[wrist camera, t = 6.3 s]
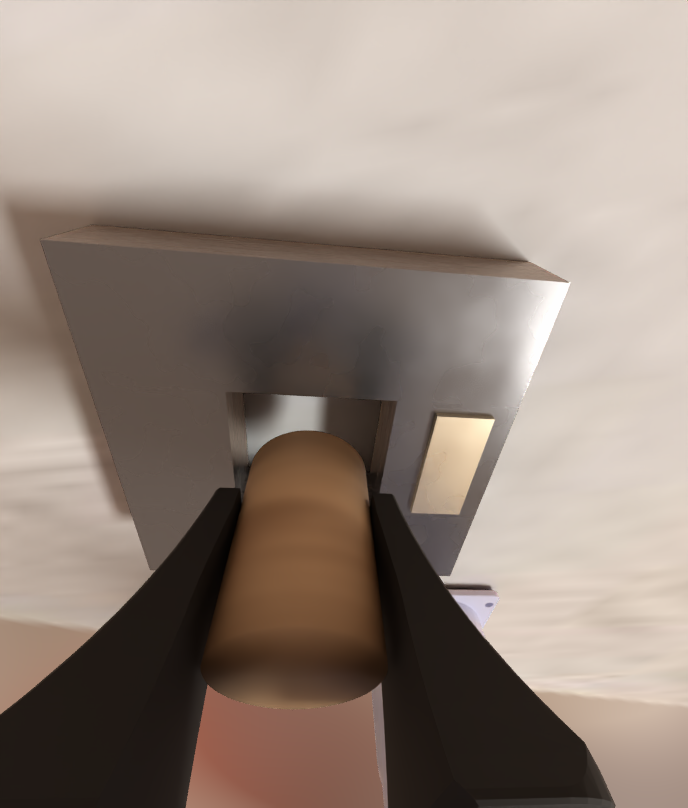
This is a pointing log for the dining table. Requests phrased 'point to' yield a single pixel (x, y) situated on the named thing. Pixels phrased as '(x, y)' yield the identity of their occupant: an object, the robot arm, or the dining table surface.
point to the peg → (299, 582)
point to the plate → (299, 362)
